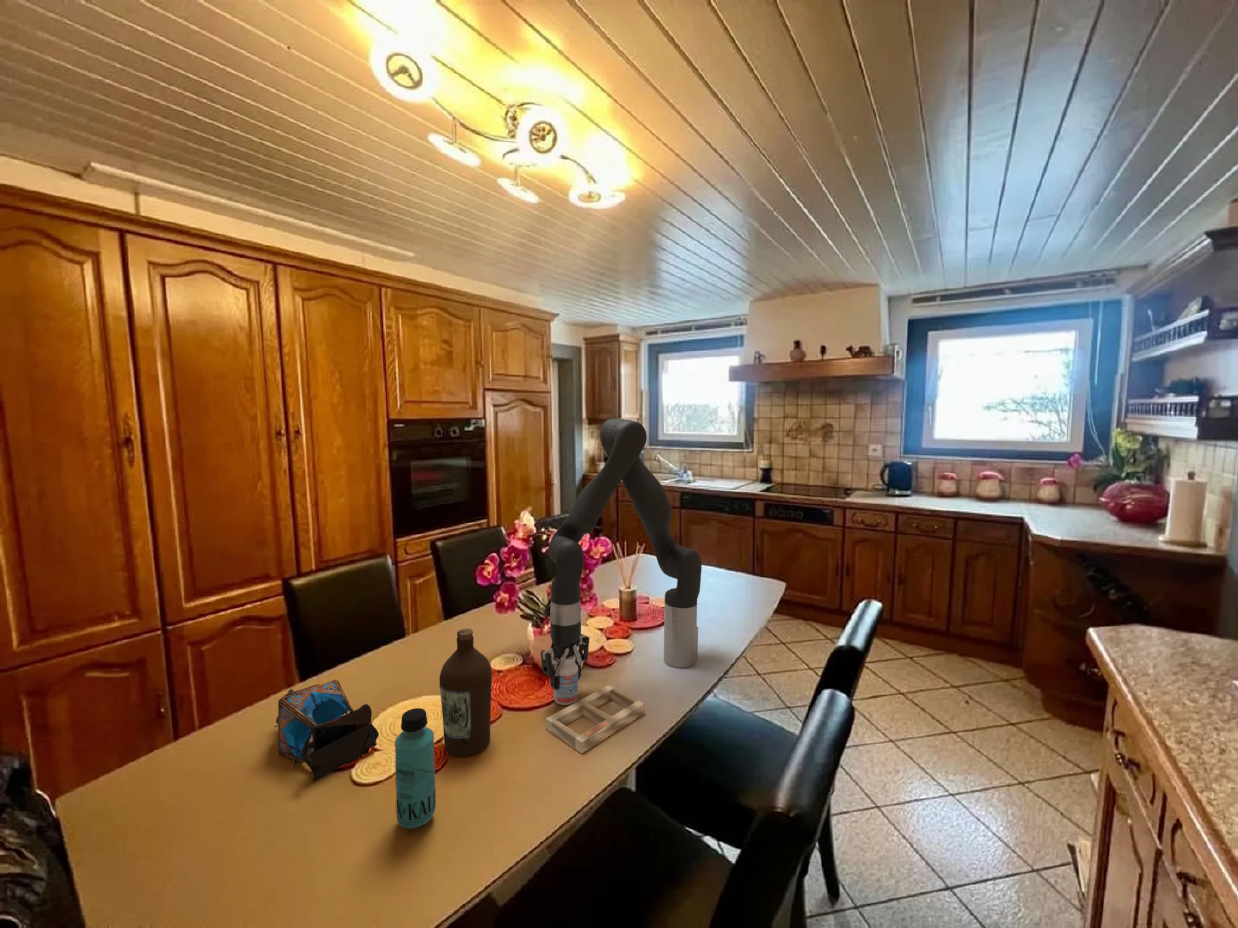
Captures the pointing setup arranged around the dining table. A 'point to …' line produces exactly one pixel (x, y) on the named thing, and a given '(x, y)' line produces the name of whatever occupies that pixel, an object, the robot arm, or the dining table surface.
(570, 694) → the pill bottle
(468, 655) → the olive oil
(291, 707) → the lantern
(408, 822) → the beverage bottle
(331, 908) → the dining table surface
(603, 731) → the plate
